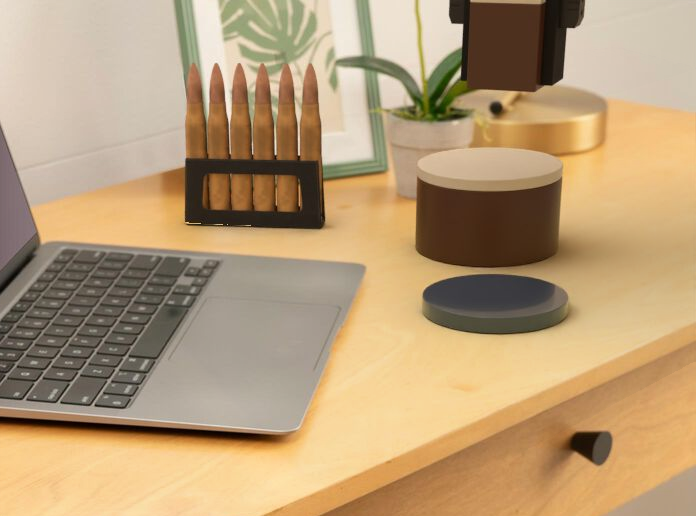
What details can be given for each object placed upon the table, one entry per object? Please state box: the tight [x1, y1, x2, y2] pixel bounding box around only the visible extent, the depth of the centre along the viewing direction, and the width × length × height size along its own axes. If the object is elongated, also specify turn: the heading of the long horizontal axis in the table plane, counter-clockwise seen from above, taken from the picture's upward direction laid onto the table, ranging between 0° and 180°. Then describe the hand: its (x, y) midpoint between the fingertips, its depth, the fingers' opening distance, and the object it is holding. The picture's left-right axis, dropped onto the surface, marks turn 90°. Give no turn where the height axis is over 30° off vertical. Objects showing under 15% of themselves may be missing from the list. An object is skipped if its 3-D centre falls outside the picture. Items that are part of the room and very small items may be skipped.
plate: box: [421, 273, 569, 334], centre depth 94 cm, size 9×9×1 cm
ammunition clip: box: [184, 62, 326, 230], centre depth 112 cm, size 11×2×12 cm, turn 75°
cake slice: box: [466, 0, 546, 93], centre depth 94 cm, size 5×4×6 cm
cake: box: [414, 146, 564, 268], centre depth 106 cm, size 10×10×6 cm
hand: (511, 78), depth 95 cm, fingers closed on cake slice, 4 cm apart
